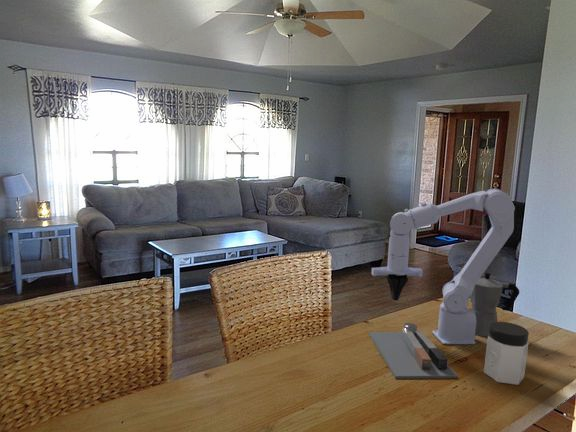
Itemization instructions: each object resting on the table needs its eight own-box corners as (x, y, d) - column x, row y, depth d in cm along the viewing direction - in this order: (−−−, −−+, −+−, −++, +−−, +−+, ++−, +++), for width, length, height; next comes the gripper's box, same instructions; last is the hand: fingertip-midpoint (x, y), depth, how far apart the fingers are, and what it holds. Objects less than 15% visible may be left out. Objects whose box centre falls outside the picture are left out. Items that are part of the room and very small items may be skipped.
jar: (476, 368, 107) (481, 322, 105) (502, 364, 109) (508, 319, 107) (504, 387, 98) (510, 338, 96) (532, 383, 101) (538, 334, 99)
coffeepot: (457, 332, 127) (464, 273, 124) (457, 321, 136) (462, 265, 133) (516, 342, 122) (523, 281, 119) (511, 329, 131) (518, 272, 128)
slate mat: (368, 334, 124) (368, 332, 124) (419, 334, 125) (419, 332, 125) (395, 378, 100) (395, 376, 100) (457, 377, 102) (457, 375, 102)
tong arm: (399, 332, 124) (400, 322, 123) (414, 333, 124) (415, 323, 123) (421, 368, 104) (422, 357, 103) (439, 369, 104) (440, 357, 103)
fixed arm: (414, 339, 119) (414, 331, 119) (421, 339, 120) (422, 331, 119) (438, 369, 104) (439, 359, 103) (446, 369, 104) (447, 359, 103)
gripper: (377, 257, 119) (374, 304, 122) (428, 258, 121) (424, 304, 123) (370, 251, 126) (367, 295, 129) (418, 251, 128) (415, 295, 130)
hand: (394, 299), depth 126 cm, fingers closed
